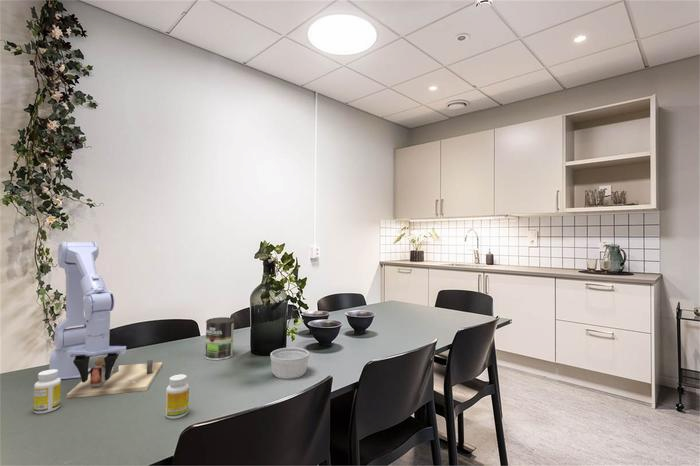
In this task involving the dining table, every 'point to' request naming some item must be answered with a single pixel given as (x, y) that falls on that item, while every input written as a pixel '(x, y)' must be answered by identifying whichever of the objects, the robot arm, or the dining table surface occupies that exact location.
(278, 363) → the ramekin
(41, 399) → the supplement bottle
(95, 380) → the lever
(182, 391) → the supplement bottle
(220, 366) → the dining table surface
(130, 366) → the board
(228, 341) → the coffee can
